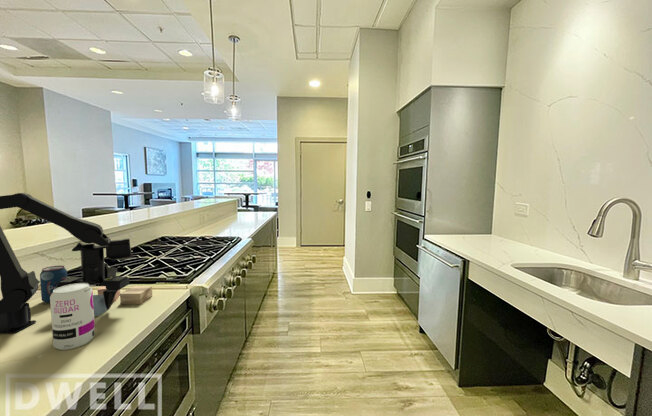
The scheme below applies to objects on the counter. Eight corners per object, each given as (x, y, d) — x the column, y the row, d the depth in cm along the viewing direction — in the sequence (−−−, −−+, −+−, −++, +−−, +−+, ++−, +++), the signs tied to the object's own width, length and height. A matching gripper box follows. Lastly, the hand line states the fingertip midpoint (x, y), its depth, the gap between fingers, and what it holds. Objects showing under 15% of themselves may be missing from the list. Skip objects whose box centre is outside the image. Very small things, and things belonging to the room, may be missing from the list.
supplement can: (91, 330, 80) (88, 280, 78) (98, 341, 74) (95, 287, 73) (51, 343, 73) (47, 288, 72) (56, 355, 68) (52, 296, 67)
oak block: (140, 304, 98) (140, 293, 98) (120, 304, 98) (119, 293, 97) (152, 296, 105) (151, 286, 104) (133, 296, 104) (132, 286, 104)
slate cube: (98, 315, 89) (97, 300, 88) (81, 316, 88) (81, 301, 88) (109, 309, 94) (108, 294, 93) (93, 309, 93) (92, 295, 93)
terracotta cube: (115, 301, 100) (114, 287, 99) (98, 303, 98) (97, 289, 98) (120, 296, 104) (119, 283, 104) (103, 297, 103) (103, 284, 102)
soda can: (51, 305, 96) (49, 271, 95) (36, 303, 97) (33, 269, 96) (73, 297, 103) (71, 265, 102) (59, 295, 104) (56, 264, 103)
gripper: (137, 255, 98) (139, 298, 100) (81, 256, 97) (84, 299, 98) (117, 264, 87) (120, 312, 89) (53, 265, 86) (56, 314, 87)
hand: (95, 309), depth 91 cm, fingers open, 8 cm apart
